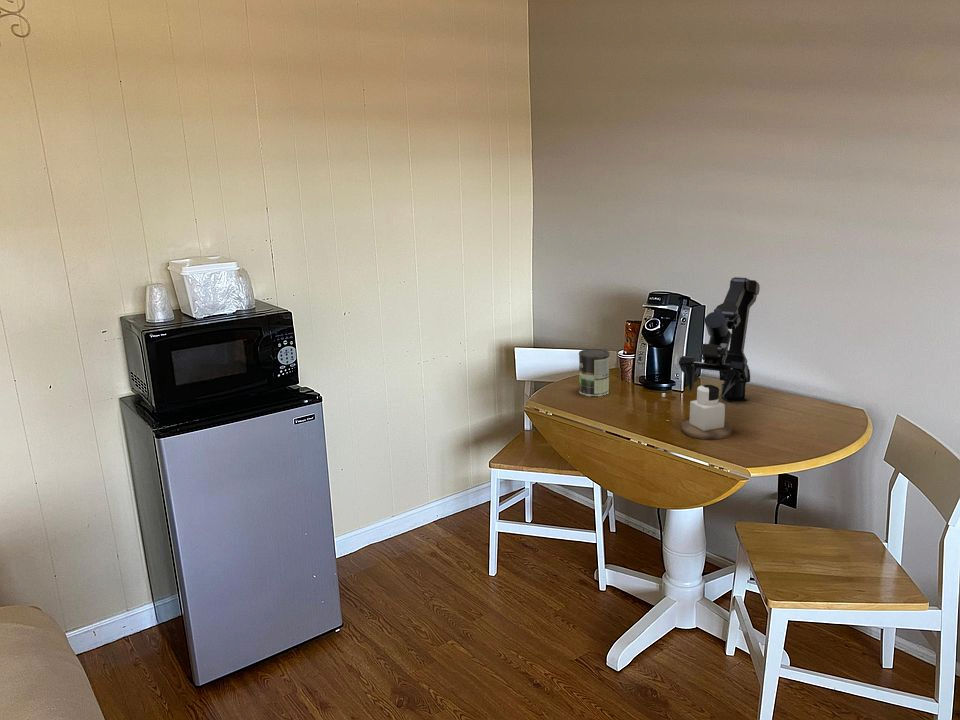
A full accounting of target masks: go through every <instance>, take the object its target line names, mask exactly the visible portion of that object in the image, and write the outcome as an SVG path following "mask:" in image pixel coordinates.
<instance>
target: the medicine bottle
mask: <svg viewBox="0 0 960 720" xmlns="http://www.w3.org/2000/svg"><path fill="white" fill-rule="evenodd" d="M719 396H720V389H719V387H718V386H715V385H713V384H701V385H699V386H698V387H697V388H696V399H694V400H690V401H689V419H690V421H689V423H690V424H691V425H693V426H695V427H697V428H699V429H701V430H703V431H707V430H713V429H718V428H723V427H724V422H725V416H726V415H725V414H726V413H725V412H726V405H725V403H723V402H720V401H719V400H720V397H719Z"/></svg>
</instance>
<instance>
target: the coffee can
mask: <svg viewBox="0 0 960 720" xmlns="http://www.w3.org/2000/svg"><path fill="white" fill-rule="evenodd" d="M578 358H579V359H578V360H579V361H578V363H579V365H578V368H579V369H578V373H579V374H578V377H579V378H578V381H579V384H578V386H579V387H578V393H579V395H582V396H586V397H591V396H595V398H596V396H598V397H603V395H604V396H606V394H607V395H609V392H610V390H609V389H610V388H609V387H610V386H609V385H610V351H608V350H606V349H602V348H587V349H582V350H580V351H578Z"/></svg>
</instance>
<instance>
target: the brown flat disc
mask: <svg viewBox="0 0 960 720" xmlns="http://www.w3.org/2000/svg"><path fill="white" fill-rule="evenodd" d="M689 421H690V418H689V419H686V420H684V421H682V422H681V429H680V430H681V433H682V434H684V435H685V434H686V436H687V435H688V436H689V437H690V438H693V437H694V439H699V440H705V441H706V440H708V441H710V440H711V441H713V440H721V439H726V438H728V437H730V436H731V435H732V425H731V424H730V423H728V422H727V421H724V427H723V428H718V429H713V430H707V431H703V430H701V429H699V428H697V427H695V426H693V425H691V424H690V423H689Z"/></svg>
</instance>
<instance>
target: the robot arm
mask: <svg viewBox="0 0 960 720" xmlns="http://www.w3.org/2000/svg"><path fill="white" fill-rule="evenodd" d="M760 288H761V286H760V283H759V282H757V280H755V279H754V280H753V279H749V278H747V277H740V276H739V277H737V276H734V277H732V278H731V280H729V288H728V291H727V293H726V296H725V298H724V299H723V302H722V303H720V304H718V305H717V306H716V307H715V308H714V310H713V312H710V313H708V314H707V315H706V316H705V318H704V325H705V327H706V331H707V335H708V336H709V340H708V343H702V345H701V352H700V356H701V359H702V361H696V359H695V356H688V355H682V356H681V357H680V358H679V360H678V365H679V368H680V370H681V372H682V373H684V374H685V375H686V376H687V378H688V379H687V380H688V388H689V392H692V391H693V390H694V385H695V380H696V376H697V375H696V372H697V370H698V369H699V370H708V371H716V372H717V371H718V372H719V380H720V381H722V384H721V393H720V396H721V397H722V398H723V399H724V400H725V401H726V402H741V401H747V400H748V398H747V397H746V384H747V383H750V382H751V370H750V368H749V364H748V359H747V356H746V355H745V352H744V351H745V345H746V335H747V328H748V322H749V314H750V309H751V307H752V306H753V305H754V303H756V301H757V296H758V295H759V293H760V291H761V289H760ZM730 330H731V331H730Z"/></svg>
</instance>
